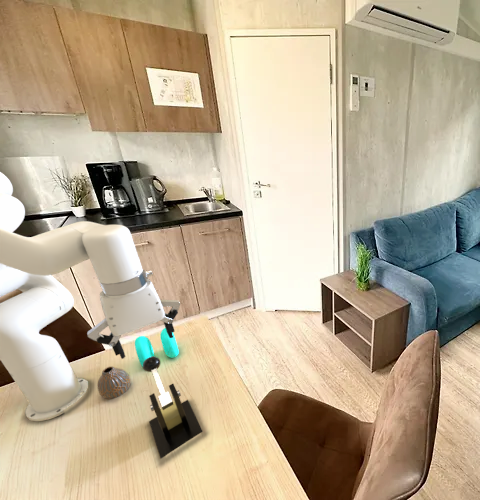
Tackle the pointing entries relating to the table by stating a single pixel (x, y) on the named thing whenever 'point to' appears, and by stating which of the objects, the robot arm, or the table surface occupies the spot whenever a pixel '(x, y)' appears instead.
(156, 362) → the ball knob lever
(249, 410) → the table surface
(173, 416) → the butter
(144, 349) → the turquoise capsule pair
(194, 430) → the black lever base
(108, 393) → the vase
